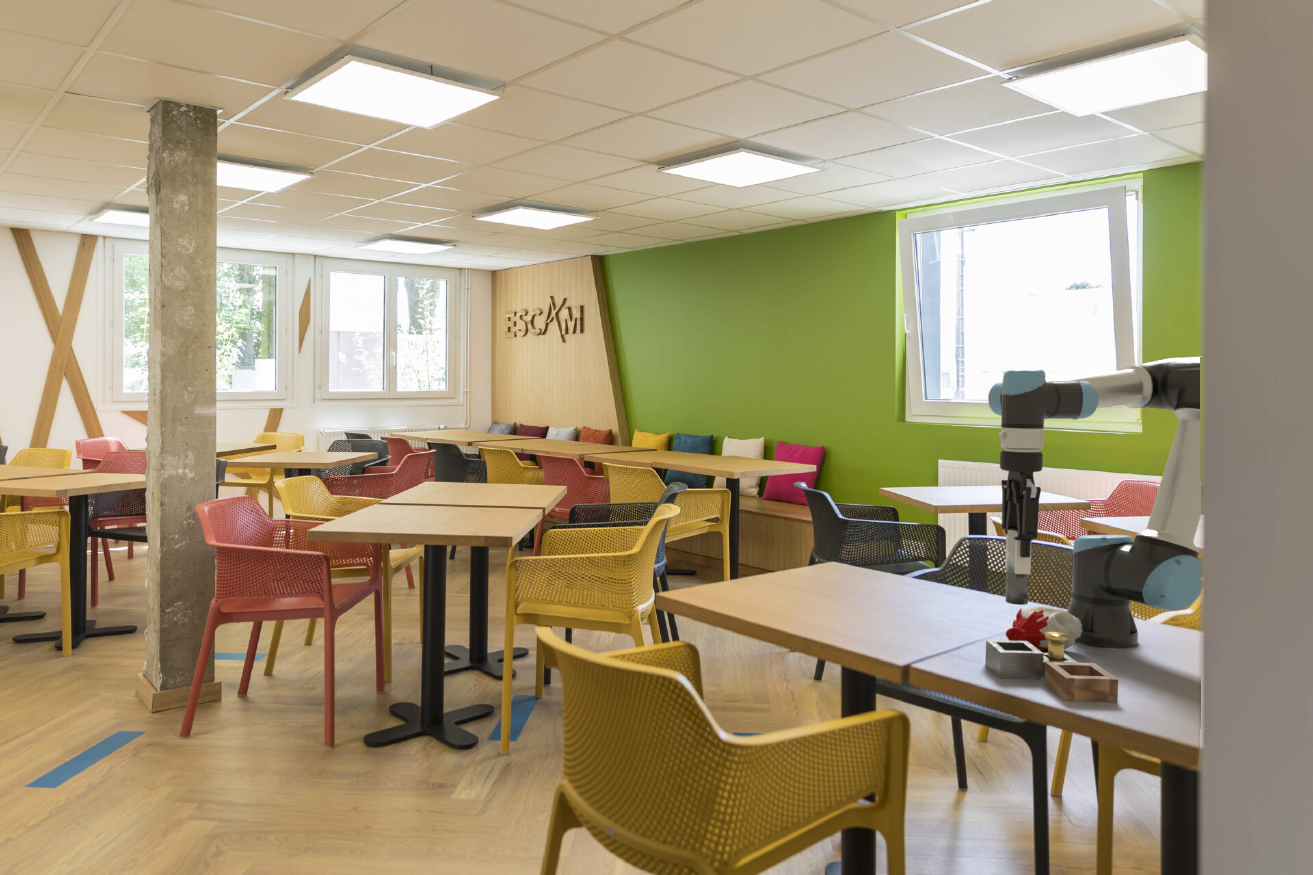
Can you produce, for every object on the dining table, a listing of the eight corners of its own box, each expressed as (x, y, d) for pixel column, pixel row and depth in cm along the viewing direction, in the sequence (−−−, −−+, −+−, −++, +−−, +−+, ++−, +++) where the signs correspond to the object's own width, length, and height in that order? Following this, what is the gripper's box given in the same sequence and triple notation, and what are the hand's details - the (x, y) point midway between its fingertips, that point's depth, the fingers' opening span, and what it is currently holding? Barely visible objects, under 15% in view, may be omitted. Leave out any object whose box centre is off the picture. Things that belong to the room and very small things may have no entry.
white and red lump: (1085, 648, 180) (1037, 666, 173) (1039, 634, 190) (992, 650, 183) (1084, 607, 178) (1035, 624, 172) (1038, 595, 188) (990, 610, 182)
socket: (1061, 666, 169) (1063, 641, 169) (1080, 680, 161) (1081, 654, 161) (985, 664, 170) (986, 639, 169) (999, 678, 162) (1000, 652, 161)
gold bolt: (1061, 667, 167) (1062, 632, 167) (1070, 673, 163) (1071, 637, 163) (1040, 666, 167) (1041, 631, 167) (1049, 673, 163) (1050, 637, 163)
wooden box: (1093, 684, 159) (1094, 663, 159) (1117, 701, 150) (1118, 679, 150) (1044, 682, 159) (1045, 661, 159) (1065, 700, 150) (1066, 677, 150)
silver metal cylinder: (1023, 599, 167) (1025, 528, 166) (1031, 604, 163) (1033, 532, 162) (1002, 599, 167) (1004, 528, 166) (1009, 604, 163) (1012, 532, 162)
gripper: (986, 446, 172) (982, 561, 173) (1018, 453, 155) (1014, 580, 156) (1024, 447, 171) (1020, 562, 173) (1060, 453, 154) (1056, 581, 156)
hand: (1017, 570), depth 164 cm, fingers closed on silver metal cylinder, 4 cm apart
